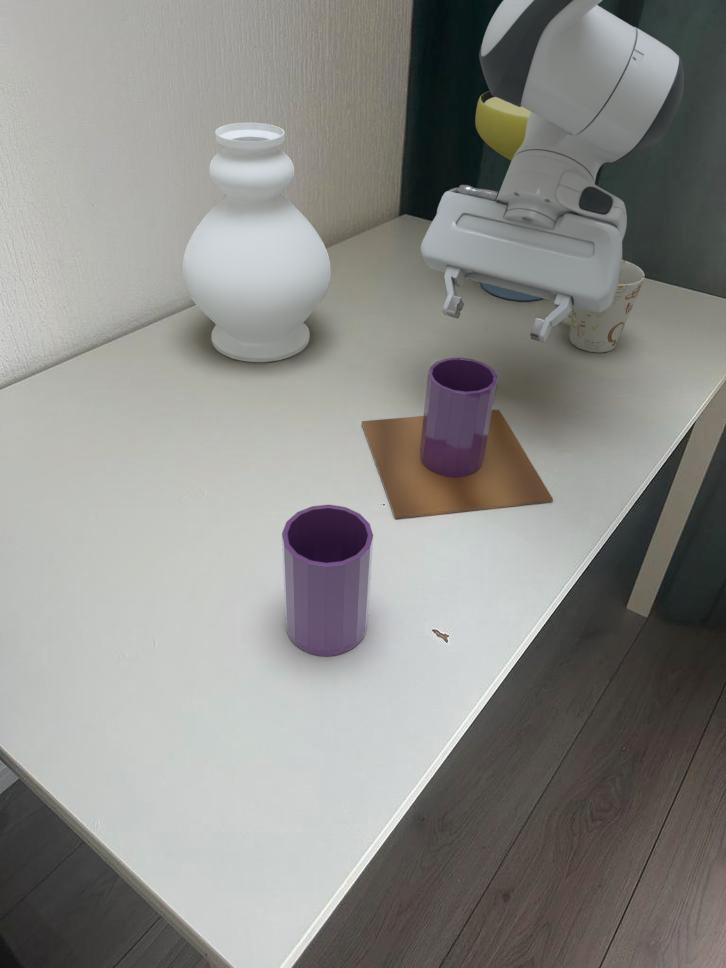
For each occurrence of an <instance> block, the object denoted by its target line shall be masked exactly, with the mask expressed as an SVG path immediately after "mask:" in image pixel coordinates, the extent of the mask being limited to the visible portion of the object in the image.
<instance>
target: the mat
mask: <svg viewBox="0 0 726 968" xmlns="http://www.w3.org/2000/svg"><path fill="white" fill-rule="evenodd" d="M423 417H424V415H419V416H417V415H416V416H406V417H395V418H393V417H392V418H383V419H372V420H371V419H370V420H362V421H361V427H362V429H363V432H364V436H365V438H366V440H367V444H368V446H369V449H370V452H371V455H372V458H373V460H374V461H373V462H374V463H375V467H376V469H377V472H378V475H379V477H380V480H381V481H380V482H381V483H382V486H383V488H384V491H385V494H386V498H387V500H388V504H389V506H390V509H391V512H392V515H393V518H394V520H398V519H399V520H400V519H408V518H409V519H410V518H418V517H426V516H435V515H436V516H437V515H445V514H454V513H463V512H474V511H481V510H492V509H501V508H509V507H510V508H511V507H520V506H528V505H529V506H530V505H537V504H547V503H553V501H554V498H553V496H552V495H551V493H550V492H549V490H548V488H547V486H546V485H545V483H544V481H543V480H542V478H541V476H540V475H539V473H538V471H537V470H536V469H535V466H534V465H533V463H532V461H531V460H530V458H529V457H528V455H527V454H526V452H525V449H524V448H523V447H522V445H521V444H520V442H519V440H518V439H517V436H516V435H515V434H514V432H513V430H512V429H511V427H510V425H509V424H508V422H507V420H506V419H505V417H504V415H503V414H502V412H501V410H500V409H492V414H491V420H490V426H489V431H488V437H487V443H486V449H485V455H484V461H483V464H482V466H481V468H480V469H479V470H478V471H477V472H475V473H473V474H471V475H468V476H464V477H447V476H443V475H439V474H437V473H434V472H432V471H431V470H429V469H428V468H426V467H425V466H424V464H423V463H422V461H421V459H420V445H421V436H422V426H423Z"/></svg>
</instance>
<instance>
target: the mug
mask: <svg viewBox="0 0 726 968" xmlns="http://www.w3.org/2000/svg"><path fill="white" fill-rule="evenodd" d="M644 280H645V272H644V271H643V270H642V268H640V267H639V266H638V265H636V264H634V263H632V262H630V261H627V260H624V259H622V267H621V273H620V278H619V282H618V286H617V290H616V293H615V296H614V299H613V302H612V304H611V306H610V307H608V308H607V309H605V310H604V311H602V312H594V311H590V310H586V309H582V308H578V307H575V306H572V307H571V310H570V312H569V315H568V316H567V317H568V318H570V327H569V341H570V343H571V344H572V345H573V346H574V347H576V348H578V349H580V350H583V351H586V352H589V353H608V352H610V351H613V350H614V349H615V348H616V346H617V343H618V341H619V339H620V337H621V335H622V332H623V331H624V327H625V325H626V323H627V321H628V318H629V316H630V313H631V311H632V309H633V307H634V304H635V303H636V299H637V297H638V295H639V293H640V291H641V288H642V286H643V283H644ZM552 303H553V304H554V301H552ZM567 317H566V318H567Z"/></svg>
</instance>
